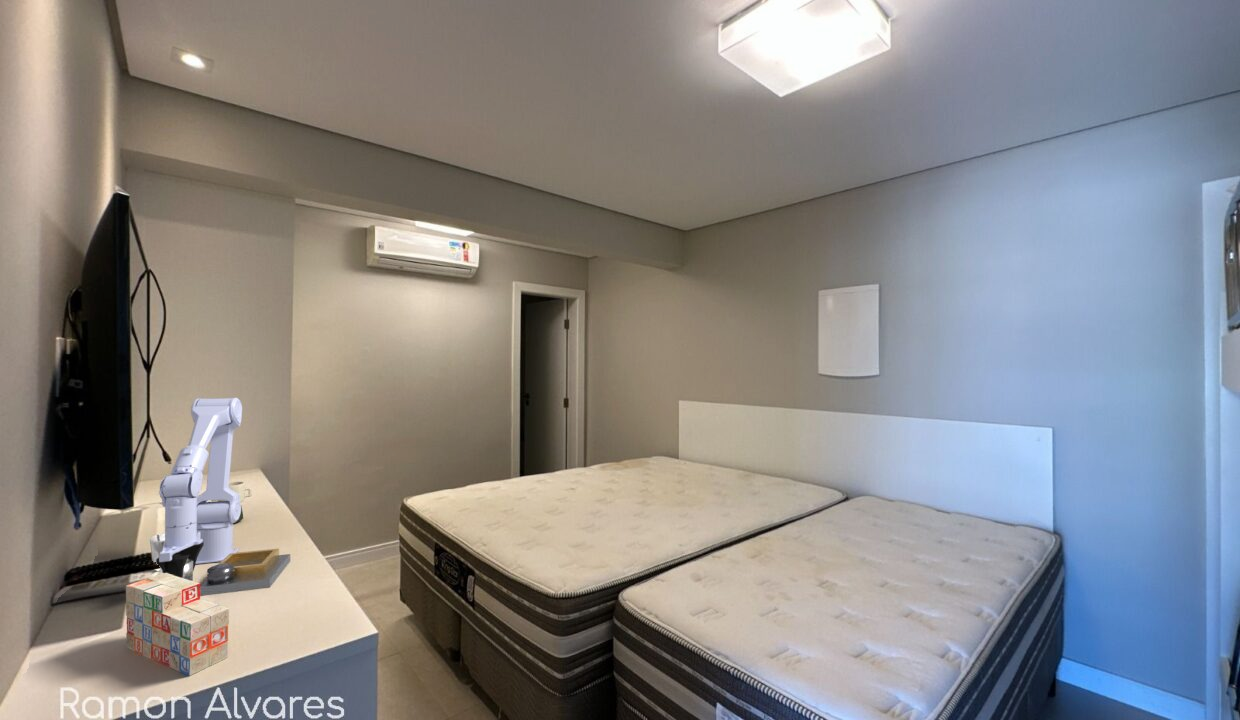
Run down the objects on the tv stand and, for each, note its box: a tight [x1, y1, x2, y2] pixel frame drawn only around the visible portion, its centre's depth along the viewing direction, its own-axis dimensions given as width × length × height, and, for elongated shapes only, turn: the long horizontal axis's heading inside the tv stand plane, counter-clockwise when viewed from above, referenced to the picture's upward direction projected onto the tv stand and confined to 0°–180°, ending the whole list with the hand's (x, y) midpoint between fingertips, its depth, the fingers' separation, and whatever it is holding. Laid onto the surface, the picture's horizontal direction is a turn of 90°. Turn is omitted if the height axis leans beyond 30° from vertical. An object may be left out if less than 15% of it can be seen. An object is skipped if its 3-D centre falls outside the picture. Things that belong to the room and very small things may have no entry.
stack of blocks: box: [125, 572, 230, 677], centre depth 93 cm, size 21×6×12 cm, turn 67°
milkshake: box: [149, 532, 165, 572], centre depth 129 cm, size 4×5×10 cm
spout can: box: [182, 559, 194, 581], centre depth 119 cm, size 4×4×7 cm
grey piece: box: [200, 547, 291, 597], centre depth 125 cm, size 14×16×5 cm
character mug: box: [210, 481, 253, 523], centre depth 165 cm, size 11×7×13 cm, turn 125°
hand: (180, 580), depth 119 cm, fingers open, 5 cm apart
